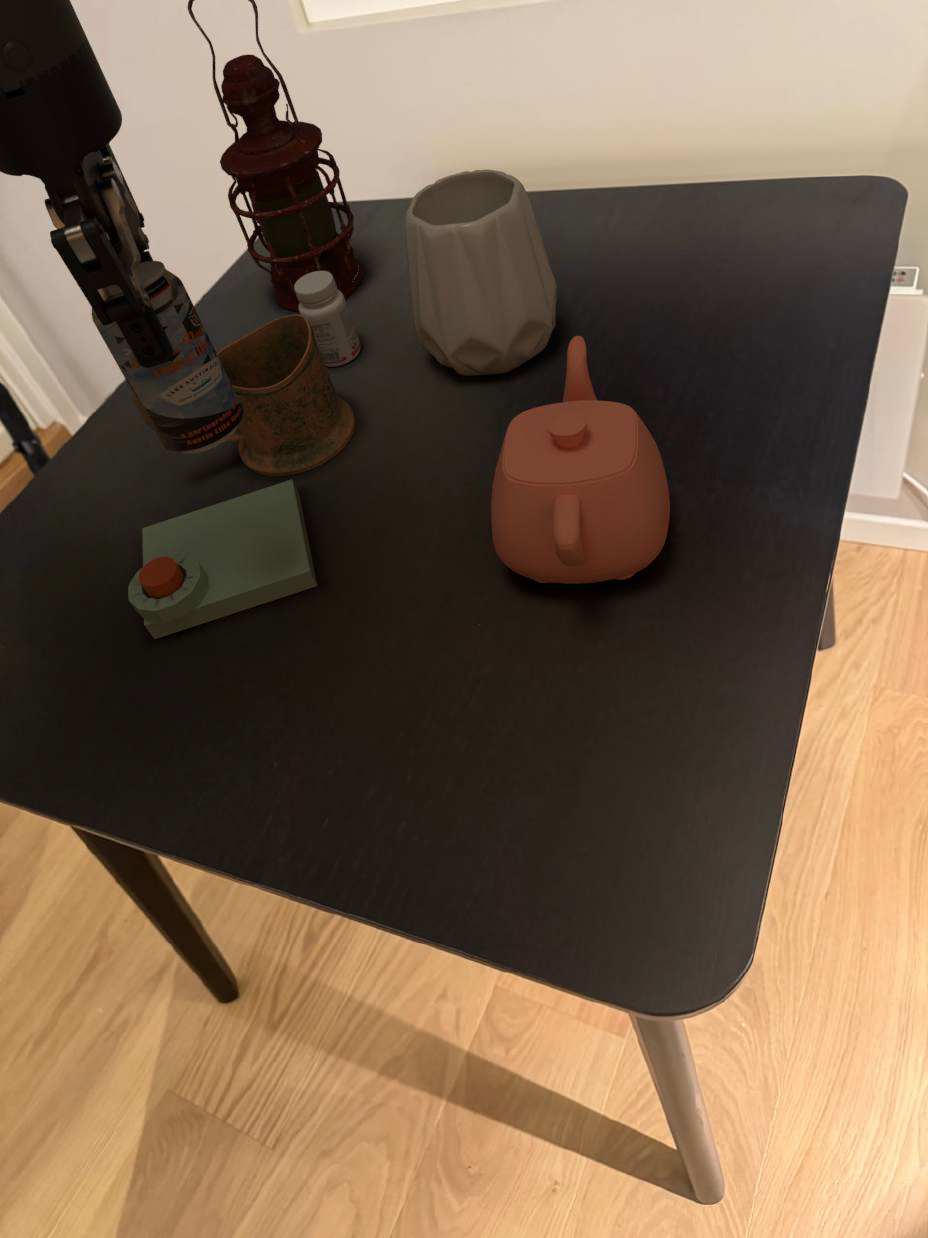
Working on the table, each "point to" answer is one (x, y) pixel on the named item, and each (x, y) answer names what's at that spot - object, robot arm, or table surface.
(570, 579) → the teapot
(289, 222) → the lantern
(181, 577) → the button
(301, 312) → the pill bottle
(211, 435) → the beverage can
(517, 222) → the vase
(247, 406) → the mug
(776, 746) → the table surface
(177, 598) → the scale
